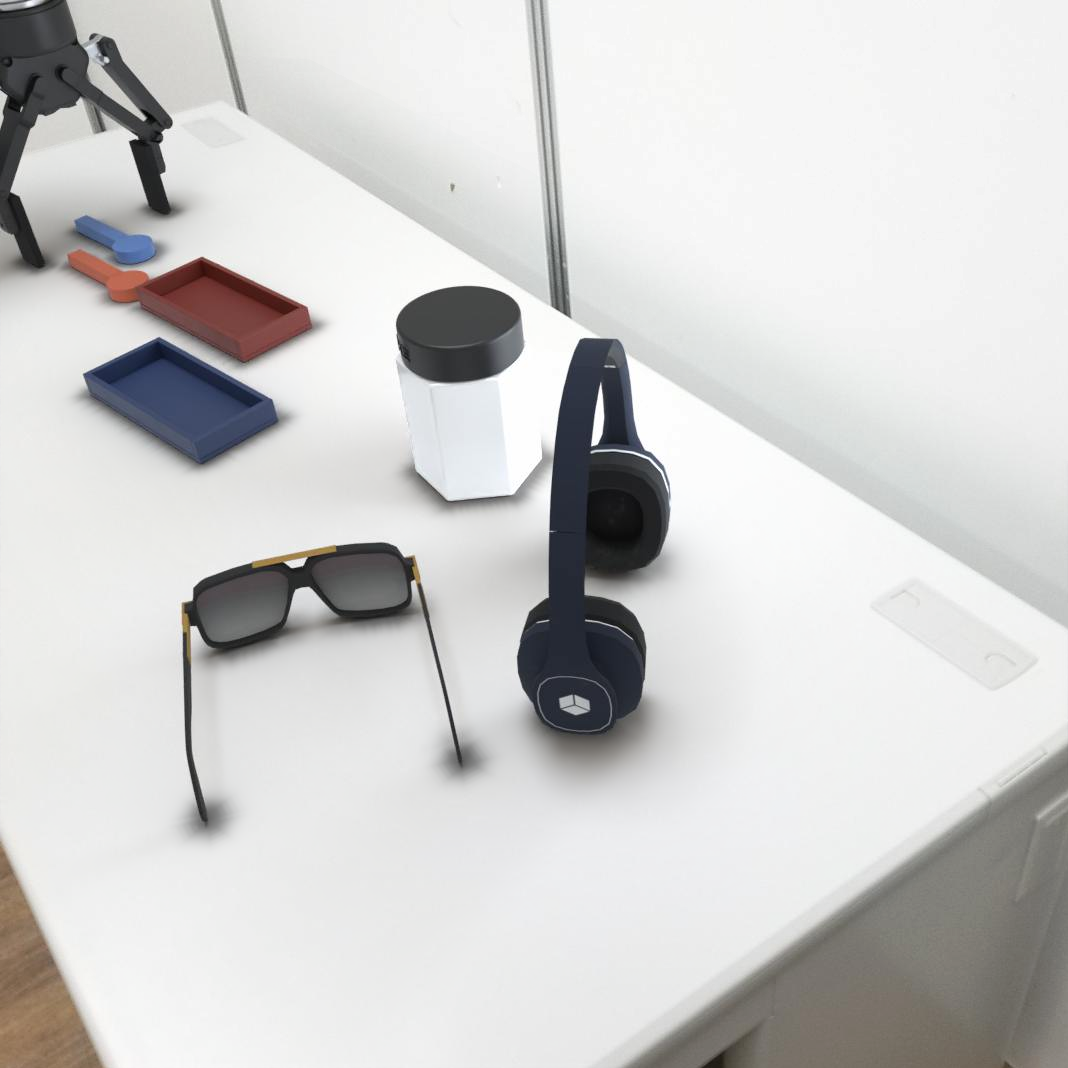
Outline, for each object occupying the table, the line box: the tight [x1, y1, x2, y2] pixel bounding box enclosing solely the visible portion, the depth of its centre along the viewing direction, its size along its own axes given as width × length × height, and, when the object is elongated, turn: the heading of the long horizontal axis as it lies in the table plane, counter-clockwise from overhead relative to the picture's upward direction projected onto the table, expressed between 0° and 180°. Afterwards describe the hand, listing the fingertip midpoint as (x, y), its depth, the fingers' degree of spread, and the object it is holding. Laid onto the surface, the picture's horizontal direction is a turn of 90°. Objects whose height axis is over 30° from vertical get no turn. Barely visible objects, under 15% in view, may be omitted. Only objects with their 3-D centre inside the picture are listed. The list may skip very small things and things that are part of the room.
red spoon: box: [66, 248, 150, 303], centre depth 111 cm, size 11×4×1 cm, turn 48°
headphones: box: [516, 337, 672, 736], centre depth 69 cm, size 20×7×18 cm, turn 172°
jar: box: [394, 285, 543, 502], centre depth 84 cm, size 9×8×12 cm
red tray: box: [134, 256, 313, 363], centre depth 105 cm, size 15×7×2 cm, turn 48°
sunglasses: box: [181, 541, 463, 823], centre depth 70 cm, size 14×15×5 cm
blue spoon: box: [73, 214, 156, 265], centre depth 116 cm, size 11×4×1 cm, turn 48°
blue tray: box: [82, 336, 279, 465], centre depth 95 cm, size 15×7×2 cm, turn 48°
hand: (99, 234), depth 118 cm, fingers open, 13 cm apart
